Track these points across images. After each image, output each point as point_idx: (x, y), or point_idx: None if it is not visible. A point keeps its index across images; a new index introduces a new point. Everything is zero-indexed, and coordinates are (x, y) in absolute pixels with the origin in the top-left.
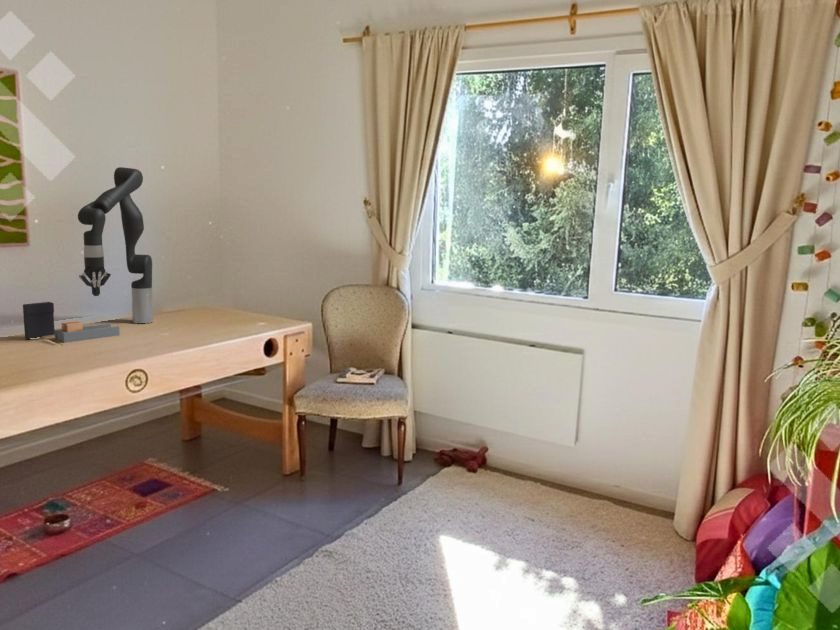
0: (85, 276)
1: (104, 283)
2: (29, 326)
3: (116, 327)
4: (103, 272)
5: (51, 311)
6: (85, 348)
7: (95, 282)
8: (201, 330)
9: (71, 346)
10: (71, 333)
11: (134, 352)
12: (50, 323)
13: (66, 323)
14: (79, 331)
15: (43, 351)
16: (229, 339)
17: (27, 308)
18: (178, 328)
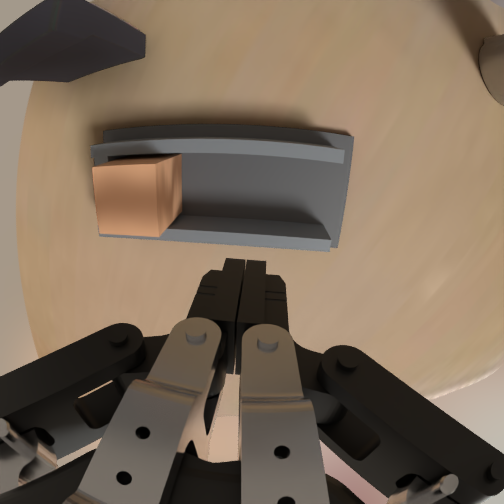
0: (39, 468)
1: (344, 419)
2: (41, 78)
3: (316, 249)
4: None
5: (74, 43)
6: (155, 303)
7: (206, 437)
8: (492, 299)
9: (130, 254)
10: (125, 235)
11: (235, 394)
12: (104, 51)
13: (102, 201)
14: (152, 238)
15: (67, 260)
16: (431, 393)
17: None
18: (497, 240)
